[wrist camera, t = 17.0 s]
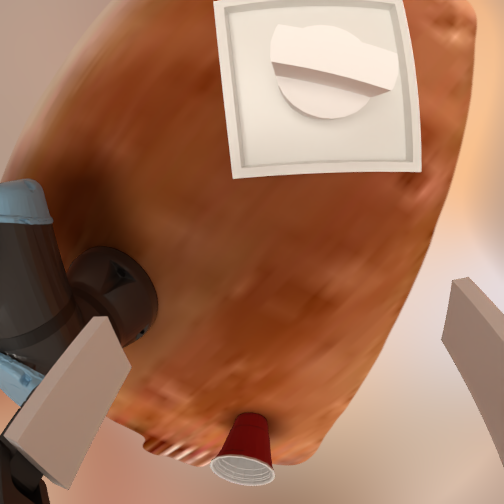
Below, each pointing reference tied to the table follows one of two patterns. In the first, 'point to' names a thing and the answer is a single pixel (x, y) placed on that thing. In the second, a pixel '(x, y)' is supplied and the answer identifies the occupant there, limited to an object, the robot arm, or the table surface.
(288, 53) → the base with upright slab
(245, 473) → the plastic cup
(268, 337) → the table surface
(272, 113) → the tray
